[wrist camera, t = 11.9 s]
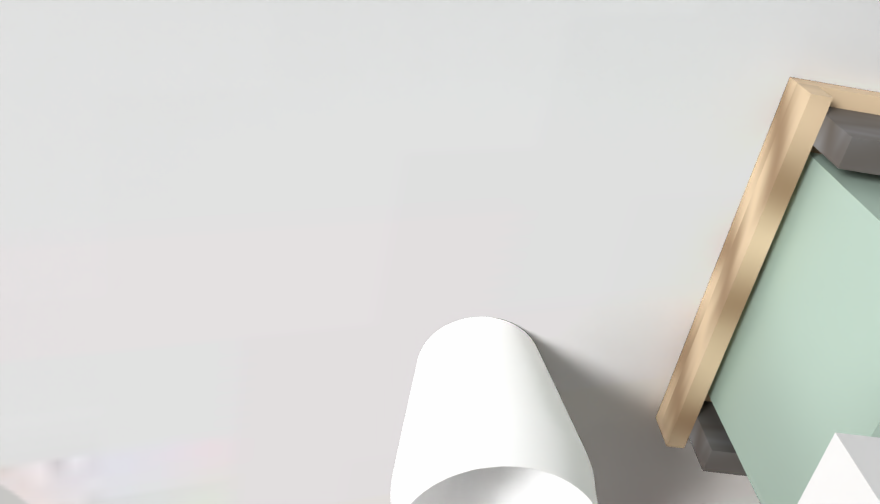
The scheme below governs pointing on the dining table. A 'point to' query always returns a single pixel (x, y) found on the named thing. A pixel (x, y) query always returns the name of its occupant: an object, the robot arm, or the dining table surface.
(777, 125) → the brown shallow square tray
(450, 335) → the cup
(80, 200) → the dining table surface
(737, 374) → the mint green panel
